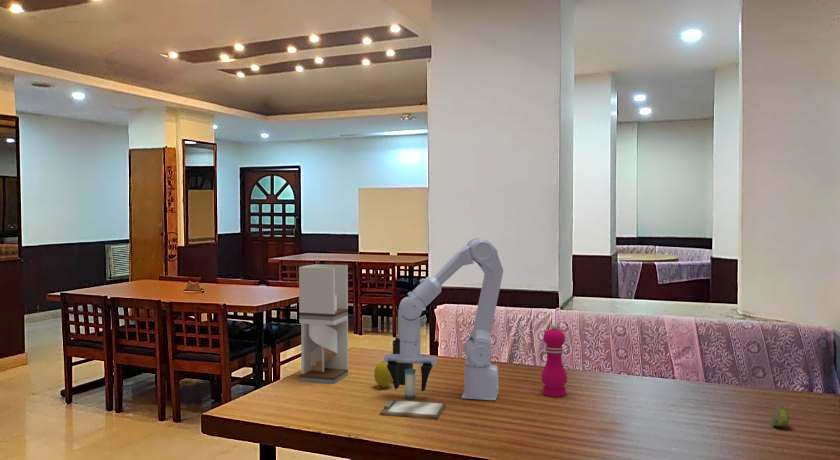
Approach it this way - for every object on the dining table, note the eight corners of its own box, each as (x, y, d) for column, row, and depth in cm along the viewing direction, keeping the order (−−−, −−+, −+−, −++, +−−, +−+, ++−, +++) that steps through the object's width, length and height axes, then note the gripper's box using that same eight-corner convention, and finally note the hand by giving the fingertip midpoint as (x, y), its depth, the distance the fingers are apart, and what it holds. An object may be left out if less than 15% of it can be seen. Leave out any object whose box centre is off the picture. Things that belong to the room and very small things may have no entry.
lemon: (392, 390, 179) (392, 362, 179) (373, 390, 179) (373, 362, 179) (393, 385, 185) (393, 358, 185) (375, 385, 185) (375, 358, 185)
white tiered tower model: (299, 381, 189) (299, 267, 188) (315, 372, 199) (314, 264, 198) (333, 384, 186) (333, 268, 185) (348, 375, 196) (347, 265, 195)
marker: (416, 396, 173) (416, 368, 173) (414, 399, 170) (414, 371, 170) (406, 395, 174) (406, 368, 174) (403, 399, 171) (403, 370, 171)
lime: (780, 431, 146) (780, 410, 145) (763, 424, 150) (763, 404, 150) (795, 429, 147) (795, 408, 147) (778, 422, 152) (778, 402, 151)
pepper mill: (565, 390, 179) (565, 321, 178) (568, 397, 172) (568, 326, 171) (540, 389, 180) (540, 321, 179) (542, 397, 173) (542, 325, 172)
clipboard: (445, 405, 165) (445, 400, 165) (437, 419, 154) (437, 413, 154) (391, 402, 168) (391, 397, 168) (380, 414, 157) (379, 409, 157)
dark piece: (391, 383, 187) (391, 300, 186) (399, 379, 191) (399, 298, 191) (406, 385, 185) (406, 301, 184) (414, 381, 189) (414, 299, 188)
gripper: (380, 342, 169) (380, 391, 170) (432, 344, 166) (432, 394, 166) (388, 337, 176) (387, 384, 177) (437, 339, 173) (437, 387, 173)
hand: (410, 389), depth 172 cm, fingers open, 7 cm apart
